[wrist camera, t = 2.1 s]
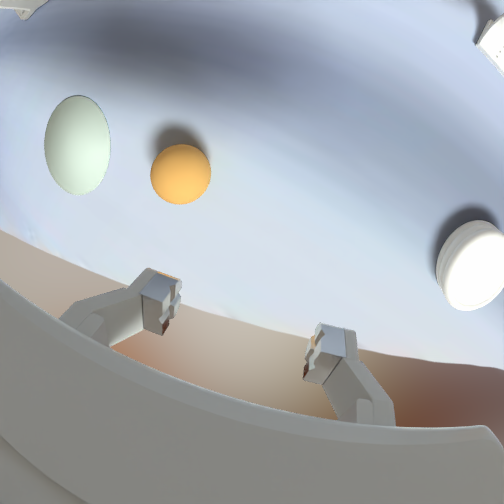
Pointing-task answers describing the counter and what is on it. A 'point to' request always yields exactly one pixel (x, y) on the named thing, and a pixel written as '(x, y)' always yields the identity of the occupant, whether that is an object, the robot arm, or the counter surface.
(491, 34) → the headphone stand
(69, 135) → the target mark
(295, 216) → the counter surface
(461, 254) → the white round disc
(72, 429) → the robot arm
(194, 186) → the ball
